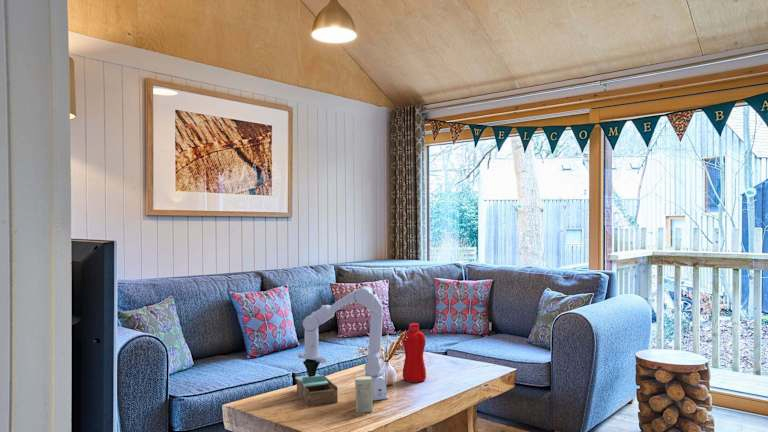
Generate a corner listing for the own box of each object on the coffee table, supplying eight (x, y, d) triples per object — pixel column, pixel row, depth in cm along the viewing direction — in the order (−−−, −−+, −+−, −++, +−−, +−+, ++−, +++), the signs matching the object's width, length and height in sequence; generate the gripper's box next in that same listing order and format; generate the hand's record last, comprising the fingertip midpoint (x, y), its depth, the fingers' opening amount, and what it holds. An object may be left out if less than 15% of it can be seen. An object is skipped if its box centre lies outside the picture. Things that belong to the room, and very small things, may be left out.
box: (337, 402, 225) (337, 386, 225) (307, 406, 220) (307, 390, 220) (325, 390, 239) (325, 376, 239) (296, 394, 235) (296, 379, 235)
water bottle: (396, 379, 256) (396, 323, 256) (417, 376, 261) (417, 320, 261) (407, 384, 248) (406, 326, 248) (428, 381, 253) (428, 324, 253)
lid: (328, 384, 232) (328, 377, 232) (304, 387, 228) (304, 380, 228) (318, 375, 244) (318, 369, 244) (295, 378, 240) (295, 372, 240)
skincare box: (372, 408, 217) (372, 375, 217) (372, 412, 213) (372, 379, 213) (355, 408, 217) (355, 376, 217) (355, 412, 213) (355, 379, 213)
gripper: (331, 345, 234) (331, 378, 234) (306, 340, 244) (306, 372, 244) (318, 348, 229) (319, 382, 229) (294, 343, 238) (294, 376, 238)
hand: (311, 377), depth 236 cm, fingers closed
